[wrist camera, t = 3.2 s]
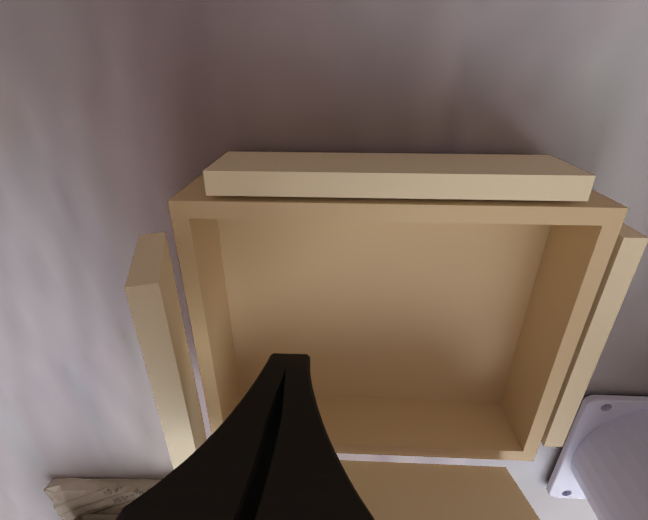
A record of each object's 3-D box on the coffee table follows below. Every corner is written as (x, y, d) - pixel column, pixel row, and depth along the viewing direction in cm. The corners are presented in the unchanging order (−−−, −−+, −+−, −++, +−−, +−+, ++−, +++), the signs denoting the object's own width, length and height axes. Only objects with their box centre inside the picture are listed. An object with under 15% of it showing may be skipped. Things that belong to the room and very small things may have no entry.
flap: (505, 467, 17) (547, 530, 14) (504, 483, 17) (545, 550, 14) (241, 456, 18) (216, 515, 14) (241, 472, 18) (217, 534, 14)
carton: (606, 153, 15) (674, 176, 12) (524, 402, 20) (556, 462, 17) (198, 149, 15) (161, 170, 12) (233, 392, 21) (214, 447, 18)
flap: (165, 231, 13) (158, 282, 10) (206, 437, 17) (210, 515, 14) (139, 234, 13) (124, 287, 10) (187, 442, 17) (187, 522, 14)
